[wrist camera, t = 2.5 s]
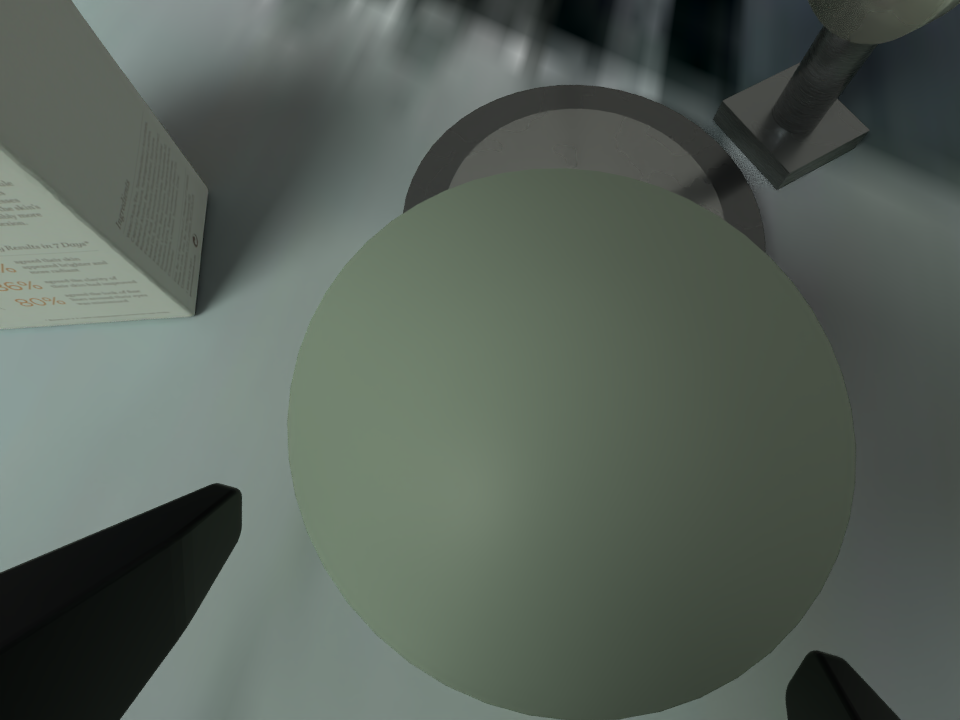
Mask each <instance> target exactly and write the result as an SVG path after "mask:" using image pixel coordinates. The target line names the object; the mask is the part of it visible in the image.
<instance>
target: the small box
mask: <svg viewBox="0 0 960 720" xmlns="http://www.w3.org/2000/svg"><path fill="white" fill-rule="evenodd" d="M207 197H208V188H207V187H206V185H205V184H204V182H203V181H202V180H201V179H200V177H199V176H198V174H197V173H196V171H195V170H194V169H193V167H192V166H191V164H190V163H189V162H188V160H187V159H186V158H185V156H184V155H183V154H182V152H181V151H180V149H179V148H178V147H177V145H176V144H175V143H174V141H173V140H172V138H171V137H170V136H169V134H168V133H167V131H166V130H165V129H164V127H163V126H162V124H161V123H160V122H159V121H158V119H157V118H156V117H155V115H154V114H153V112H152V111H151V109H150V108H149V107H148V105H147V104H146V103H145V101H144V100H143V99H142V97H141V96H140V95H139V93H138V92H137V90H136V89H135V88H134V86H133V85H132V83H131V82H130V81H129V79H128V78H127V77H126V75H125V74H124V73H123V71H122V70H121V69H120V67H119V66H118V65H117V63H116V62H115V60H114V59H113V58H112V56H111V55H110V53H109V52H108V51H107V49H106V48H105V47H104V45H103V44H102V43H101V41H100V40H99V38H98V37H97V36H96V34H95V33H94V31H93V30H92V29H91V27H90V26H89V25H88V23H87V22H86V20H85V19H84V18H83V16H82V15H81V13H80V12H79V11H78V9H77V8H76V6H75V5H74V4H73V2H72V1H71V0H0V329H15V328H30V327H46V326H59V325H73V324H89V323H104V322H118V321H131V320H146V319H161V318H176V317H192V316H194V315H195V306H196V298H197V288H198V280H199V271H200V261H201V251H202V242H203V232H204V224H205V215H206V207H207Z"/></svg>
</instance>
